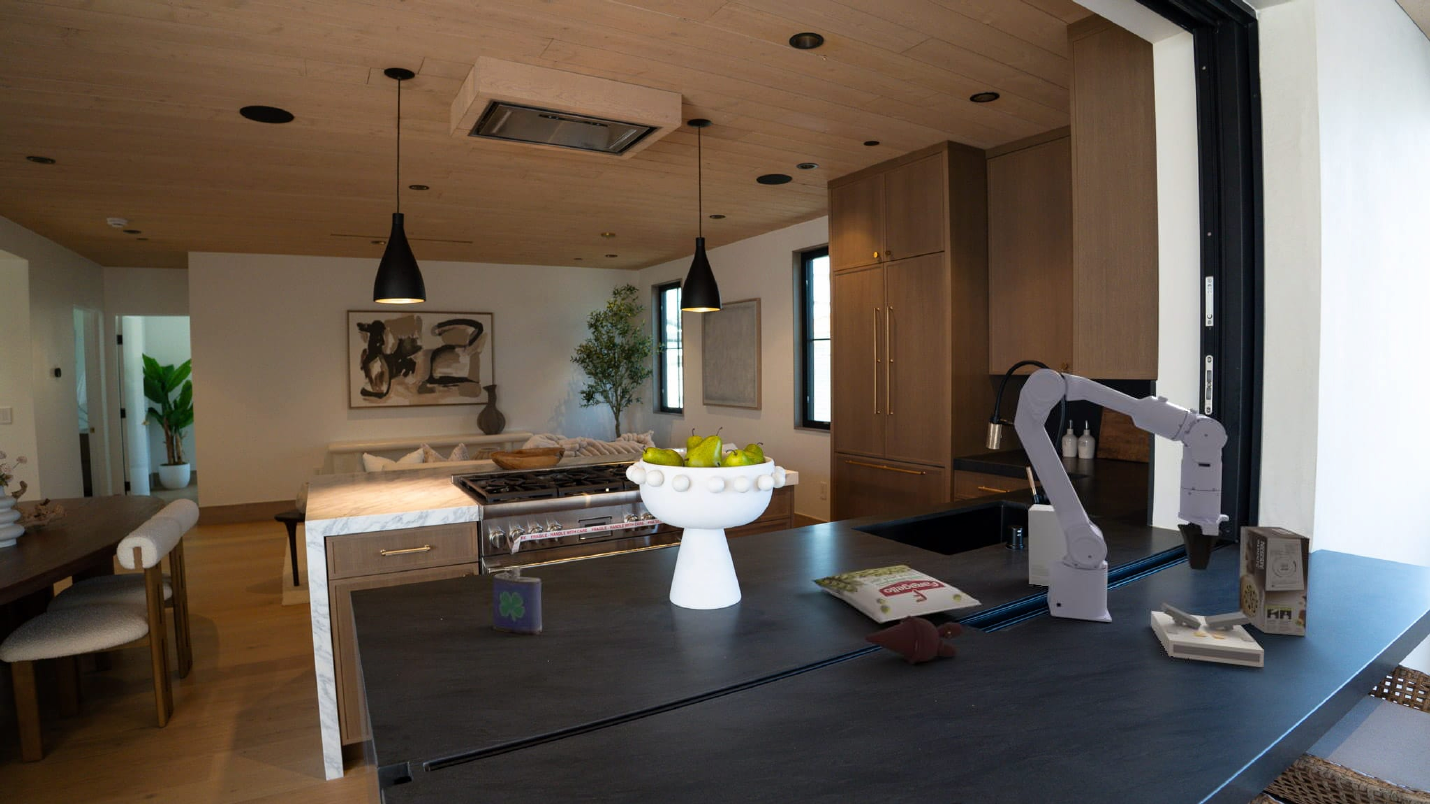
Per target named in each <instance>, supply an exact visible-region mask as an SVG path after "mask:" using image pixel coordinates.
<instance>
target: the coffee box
mask: <svg viewBox="0 0 1430 804" xmlns="http://www.w3.org/2000/svg"><path fill="white" fill-rule="evenodd" d="M1310 541H1311V538H1309V537H1307V536H1305V535H1302V534H1300V533H1296V532H1293V531H1291V530H1288V529H1286V528H1283V527H1279V526H1245V525H1244V526H1240V546H1239V547H1240V548H1239V549H1240V554H1239V591H1238V593H1239V594H1238V596H1239V599H1238V612H1242V613H1243V614H1244V615H1245V616H1246V617H1247V620H1248V623H1249V624H1250V623H1251V624H1250V625H1252V626H1253V625H1254V626H1253V627H1255V628H1256V629H1258V630H1259V631H1261V632H1263V633H1264V634H1275V635H1276V634H1278V635H1280V634H1281V635H1289V636H1290V635H1291V636H1301V637H1303V636H1305V635H1306V632H1307V631H1306V629H1307V628H1306V627H1307V611H1308V610H1307V609H1308V608H1307V606H1308V605H1307V604H1308V581H1309V580H1308V579H1309V561H1310V560H1309V559H1310Z"/></svg>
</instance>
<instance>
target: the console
mask: <svg viewBox="0 0 1430 804" xmlns="http://www.w3.org/2000/svg"><path fill="white" fill-rule="evenodd" d="M1150 612H1151V613H1150V618H1151V619H1150V627H1151V628H1152V630H1153V632H1154V631H1155V632H1154V634H1155V635H1156V636H1157V638H1158V640H1159V642H1160V641H1161V642H1160V643H1161V645H1162V646H1164V647H1163V649H1164V648H1165V649H1164V650H1165V652H1166V651H1167V652H1166V654H1167V653H1168V654H1167V655H1168V657H1171V656H1173V657H1172V658H1180V659H1181V658H1182V659H1188V658H1189V660H1196V661H1198V660H1199V661H1207V662H1214V663H1215V662H1216V663H1224V664H1233V665H1241V666H1242V665H1243V666H1249V667H1258V668H1264V660H1265V659H1264V658H1265V656H1264V655H1265V650H1264V649H1263V648H1262V647H1261V645H1260V644H1259V643H1257V641H1256V640H1255V639H1254V638H1253V637H1252V636H1251V635H1250V634H1249V632H1247V631H1246V630H1245V628H1244V627H1243V626H1242V625H1236V626H1233V628H1234V630H1228V631H1226V629H1225V628H1224V627H1222V628H1214V629H1210V628H1209V627H1208V625H1207V624H1206V622H1205V619H1204V617H1206V616H1203V615H1193V614H1189V615H1190V616H1193V617H1195V618H1197V620H1198V621H1199V622H1200V623H1201V626H1200V627H1199V629H1196V628H1194V627H1192V626H1189V625H1187V624H1185V623H1183V624H1182V626H1180V625H1178V624H1176V623H1175V622H1174V621H1173V619H1172V617H1171V616H1169V615H1167V614H1165V613H1164V612H1163V611H1154V610H1151V611H1150Z"/></svg>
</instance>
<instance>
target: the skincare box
mask: <svg viewBox="0 0 1430 804" xmlns="http://www.w3.org/2000/svg"><path fill="white" fill-rule="evenodd" d="M1027 511H1028V513H1027V515H1028V524H1027V525H1028V585H1029V584H1036V585H1041V586H1040V587H1042V586H1049V566H1050V562H1051V561H1055V562H1059V561H1062V557H1063V556H1065V555H1066V554H1067V551H1066V542H1065V535H1064V532H1063V530H1062V528H1061V525H1060V522H1059V520H1058V517H1057V515H1056V513H1055V511H1054V509H1053V507H1052V505H1050V504H1049V505H1047V504H1038V503H1037V504H1036V503H1035V504H1034V503H1033V505H1031V507H1030V508H1029V509H1028V510H1027Z"/></svg>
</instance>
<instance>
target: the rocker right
mask: <svg viewBox="0 0 1430 804" xmlns="http://www.w3.org/2000/svg"><path fill="white" fill-rule="evenodd" d="M1204 619H1205V622H1206V624H1207V625H1208V627H1209V628H1210V629H1214V628H1222V627H1224V628H1225V629H1226V631H1228V630H1234V628H1233V626H1236V625H1241V626H1242V625H1247V624H1248V625H1249V624H1250V623H1249V622H1248V620H1247V617H1246V616H1245V615H1244V614H1243V613H1242V612H1239V611H1236V612H1229V613H1223V614H1216V615H1210V616H1205V617H1204Z"/></svg>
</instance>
